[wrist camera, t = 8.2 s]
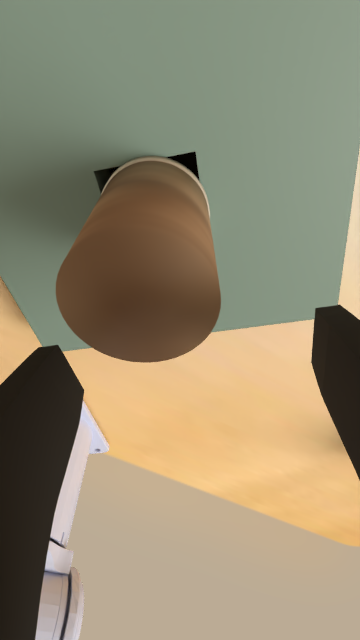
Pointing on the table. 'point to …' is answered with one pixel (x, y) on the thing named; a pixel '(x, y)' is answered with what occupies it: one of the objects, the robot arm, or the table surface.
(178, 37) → the board
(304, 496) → the table surface
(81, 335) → the peg
